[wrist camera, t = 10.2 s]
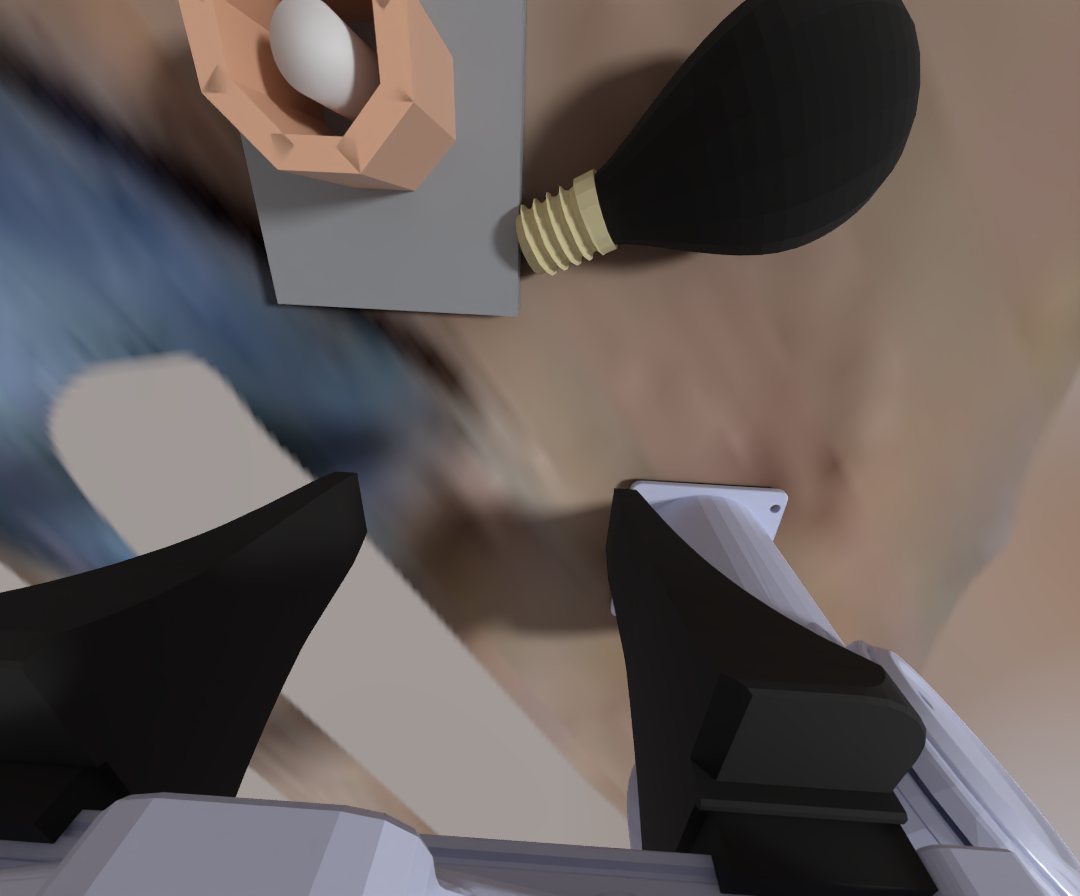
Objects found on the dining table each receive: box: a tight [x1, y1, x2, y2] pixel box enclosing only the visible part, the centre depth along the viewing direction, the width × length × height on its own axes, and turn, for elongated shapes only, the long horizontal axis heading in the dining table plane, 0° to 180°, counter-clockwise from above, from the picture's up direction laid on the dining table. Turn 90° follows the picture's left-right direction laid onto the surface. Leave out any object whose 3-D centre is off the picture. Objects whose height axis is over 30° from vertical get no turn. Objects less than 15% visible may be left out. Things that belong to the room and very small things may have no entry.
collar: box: [179, 0, 456, 191], centre depth 12 cm, size 6×5×5 cm
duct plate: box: [240, 0, 526, 317], centre depth 13 cm, size 14×10×5 cm
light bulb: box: [516, 0, 920, 276], centre depth 14 cm, size 7×7×12 cm
